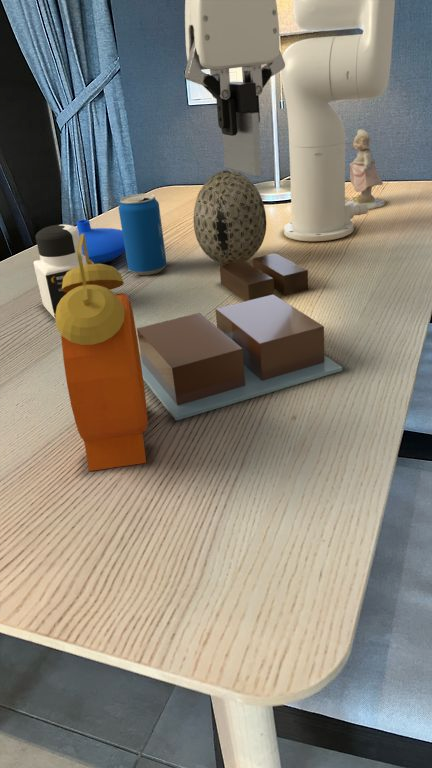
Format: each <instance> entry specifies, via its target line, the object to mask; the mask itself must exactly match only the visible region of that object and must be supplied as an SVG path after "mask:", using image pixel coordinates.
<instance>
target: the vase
mask: <svg viewBox="0 0 432 768" xmlns="http://www.w3.org/2000/svg"><path fill="white" fill-rule="evenodd" d="M76 228H77V229H78V231H79V236H80V234H84V236H85V241H86V246H87V251H88V257H89V260H92V262H93V263H94V264H105V263H108V262H111V261H113V260H116V258H118V257H119V256H121V255H123V254H124V253H126V252H125V246H124V239H123V233H122V229H119V228H111V227H110V228H108V227H107V228H105V227H101V228H92V226H91V223H90V219H79V220H77V221H76ZM82 252H83V253H82V254H83V255H84V256H85V253H84V248H83V242H82Z"/></svg>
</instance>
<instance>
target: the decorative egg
mask: <svg viewBox="0 0 432 768" xmlns="http://www.w3.org/2000/svg"><path fill="white" fill-rule="evenodd" d="M193 230H194V234H195V237H196V240H197V243H198V244H199V246H200V248H201V250H202V251H203V252H204V254H205V255H206V256H207V257H208V258H210V259H211V260H213V261H215V262H216V263H219V264H221V265H226V264H230V263H234V262H239V261H245V262H246V261H248V260H250V259H251V258H253V256H255V254H256V253H258V251H259V250H260V248H261V247H262V245H263V242H264V240H265V237H266V231H267V213H266V209H265V204H264V201H263V198H262V196H261V194H260V191H259V189H258V188H257V187H256V185H255V184H254V182H252V180H251V179H249V177H247V176H246V175H245V174H244V173H242V172H239V171H236V170H233V169H224V170H221V171H218V172H216V173H215V174H212V176H210V177H209V178H208V179H207V180H206V181H205V183H203V185H202V187H201V188H200V190H199V191H198V194H197V196H196V199H195V203H194V207H193Z"/></svg>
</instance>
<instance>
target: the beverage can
mask: <svg viewBox="0 0 432 768" xmlns="http://www.w3.org/2000/svg"><path fill="white" fill-rule="evenodd" d="M119 201H120V202H119V203H120V204H119V205H118V214H119V220H120V226H121V230H122V233H123V239H124V246H125V252H124V253H125V257H126V263H127V269H128V270H129V271H130V272H132V273H133V274H134V275H137V276H138V275H139V276H149V275H154V274H158V273H161V272H162V271H163V270H164V268H165V267H166V266H167V264H168V261H167V255H166V249H165V241H164V233H163V231H164V230H163V226H162V225H163V224H162V216H161V209H160V203H159V201H158V200H157V199H156V195H155V194H153V193H136V194H130V195H125V196H124V197H121V198H120V199H119Z"/></svg>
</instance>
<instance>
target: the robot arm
mask: <svg viewBox="0 0 432 768" xmlns="http://www.w3.org/2000/svg"><path fill="white" fill-rule="evenodd" d="M184 2H185V3H184V28H185V29H184V30H185V31H184V33H185V52H186V60H187V63H186V67H185V71H184V78H185V80H186V81H189V82H191V83H195V84H197V85H201V86H202V87H204V89H206V90H207V92H209V93H210V94H211V97H212V98H213V99H215V100H216V110H217V111H216V112H217V123H218V128H219V129H221V134H222V133H223V134H225V135H230V136H234V135H236V134H237V116H236V103H235V100H234V99H231V93H230V82H231V80H230V79H231V78H230V69H237V68H238V69H239V68H241V74H242V82H251V83H256V99H257V111H254V112H257V113H258V116H259V123H260V121H261V116H260V115H261V114H260V113H261V112H260V97H259V96H261V95H262V93H263V92H264V91H263V89H264V88H265V86H266V85H267V84H268V82H269V81H270V79H271V77H273V76H275V75H277V74H279V73H280V78H281V84H282V88H283V95H284V99H285V107H286V115H287V127H288V146H289V147H288V149H289V151H288V153H289V176H290V177H289V178H290V179H289V180H290V201H291V202H290V206H291V221H290V222H288V223H287V224H285V225H284V226H283V234H284V236H285V237H287V238H289V239H291V240H294V241H301V242H326V241H333V240H338V239H342V238H345V237H348V236H349V235H351V234H352V233H353V232H354V229H355V226H354V222H352V220H351V219H353V218H354V217H355V216H362V215H366V214H368V212H369V209H368V205H367V204H366V203H363V204H359V205H356V206H354V205H353V204H347V203H346V129H345V125H344V122H343V121H342V118H341V117H340V115H339V114H338V113H337V111H336V110H335V108H334V107H333V106H332V104H331V103H333V102H334V103H336V102H343V101H345V102H346V101H363V100H371V99H377V98H378V97H381V96H382V95H383V94H384V93H385V91H386V90H387V87H388V85H389V81H390V76H391V67H392V66H391V65H392V51H393V36H394V22H395V8H396V5H395V4H396V0H293V17H294V20H295V22H296V25H297V26H298V27H299V28H300V29H301V30H303V31H307V32H331V31H343V30H354V29H360V30H362V33H361V34H359V33H358V34H349V35H331V36H321V37H311V38H305V39H301V40H298V41H295V42H294V43H291V44H290V45H288V47H287V48H286V49H285V50H284V52H283V54H282V52H281V49H280V46H281V45H280V43H281V41H280V26H279V25H280V24H279V23H280V22H279V13H278V4H277V0H184ZM262 65H264V66H263V67H262ZM203 70H204V71H205V70H209V72H210V73H209V74H208V73H206V72H203Z"/></svg>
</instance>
